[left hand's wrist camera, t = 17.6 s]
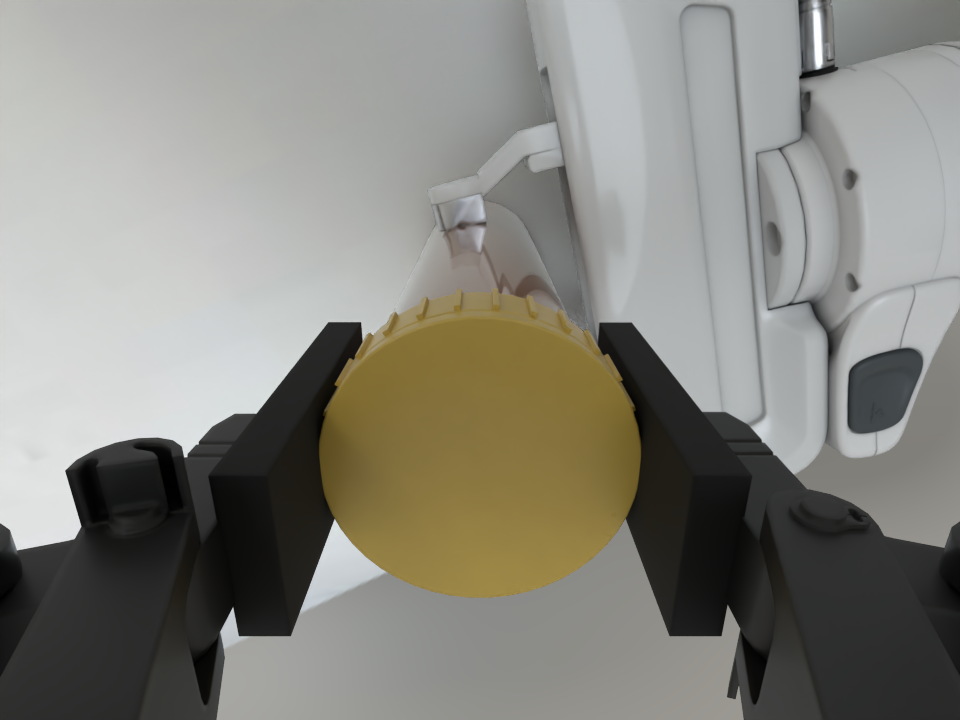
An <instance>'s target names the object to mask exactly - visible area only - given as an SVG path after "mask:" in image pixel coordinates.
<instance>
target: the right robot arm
mask: <svg viewBox="0 0 960 720" xmlns="http://www.w3.org/2000/svg"><path fill="white" fill-rule="evenodd" d="M525 1H526V7H527V12H528V17H529V23H530V28H531V33H532V38H533V44H534V49H535V54H536V59H537V65H538V70H539V75H540V80H541V86H542V91H543V96H544V101H545V107H546V112H547V117H548V122H549V123H545V124H541V125H538V126H534V127H530V128H527V129H523V130H519V131H517V132H516V133H515V134H514V135H513V136H512V137H511V138H510V139H509V140H508V141H507V142H506V143H505V144H504V145H503V146H502V147H501V148H500V149H499V150H498V151H497V152H496V153H495V154H494V155H493V156H492V157H491V158H490V159H489V160H488V161H487V162H486V163H485V164H484V165H483V166H482V167H481V168H480V169H479V170H478V171H477V175H474V176H470V177H466V178H462V179H458V180H454V181H451V182H447V183H443V184H439V185H437V186H434V187H431V188H429V189H428V194H429V199H430V203H431V206H432V209H433V213H434V216H435V220H436V223H437V227H438V230H439V232H444V231H449V230H453V229H455V228H457V227H458V226H459V225H460V224H461V223H464V224H466V225H472V224H477V223H481V222H485V221H487V212H486V208H485V203H484V199H483V197H484V196H485V195H486V194H487V193H488V192H489V191H490V190H491V189H493V188H494V187H495V186H496V185H497V184H498V183H499V182H500V181H501V180H502V179H503V178H504V177H505V176H506V175H507V174H508V173H509V172H510V171H511V170H512V169H513V168H514V167H515V166H516V165H517V164H518V163H519V162H520V161H521V160H522V159H523V158H524V163H525V167H526V168H527V169H529V170H530V171H531V172H533V173H536V172H540V171H545V170H549V169H553V168H557V170H558V175H559V180H560V185H561V191H562V196H563V201H564V206H565V212H566V217H567V222H568V227H569V233H570V238H571V243H572V248H573V254H574V259H575V264H576V269H577V275H578V280H579V285H580V290H581V296H582V301H583V306H584V311H585V316H586V322H587V327H588V330H589V331H590V332H591V334H592V336H593V338H594V340H595V342H596V343H597V345H598V333H599V322H632V323H633V324H634V326H635V327H636V328H637V330H638V331H639V332H640V333H641V335H642V336H643V337H644V338H645V340H646V341H647V342H648V344H649V345H650V346H651V347H652V349H653V350H654V351H655V352H656V354H657V355H658V356H659V358H660V359H661V360H662V361H663V363H664V364H665V365H666V366H667V368H668V369H669V370H670V372H671V373H672V374H673V375H674V377H675V378H676V379H677V380H678V382H679V383H680V384H681V386H682V387H683V388H684V389H685V391H686V392H687V393H688V394H689V396H690V397H691V398H692V400H693V401H694V402H695V403H696V405H697V406H698V407H699V408H700V410H701V411H702V412H727V413H729V414H730V415H732V416H734V417H736V418H737V419H739V420H741V421H743V422H744V423H746V424H748V425H749V426H750V427H751V428H752V429H753V430H754V431H755V433H756V434H757V435H758V436H759V437H760V438H761V439H762V443H765V444H766V445H767V446H768V447H769V448H770V449H771V450H772V451H773V455H776V456H777V457H778V458H779V459H780V460H781V461H782V462H783V463H784V465H785V466H786V467H787V468H788V469H789V470H790V471H791V472H792V473H793V474H796V473H798V472H800V471H801V470H803V469H804V468H805V467H807V466H808V465H809V464H810V463H811V462H812V461H813V460H814V459H815V458H816V457H817V455H818V454H819V452H820V451H821V449H822V447H823V445H824V442H825V443H827V444H828V445H829V446H831V447H832V448H834V449H835V450H837V451H838V452H839V453H841V454H842V455H844V456H846V457H849V458H862V457H869V456H874V455H878V454H881V453H884V452H886V451H888V450H890V449H891V448H893V447H894V446H895V445H896V444H897V442H898V441H899V440H900V438H901V436H902V434H903V432H904V429H905V427H906V424H907V422H908V419H909V416H910V414H911V411H912V408H913V405H914V403H915V400H916V398H917V395H918V392H919V390H920V387H921V385H922V382H923V380H924V378H925V375H926V373H927V371H928V368H929V366H930V364H931V362H932V359H933V357H934V355H935V353H936V351H937V349H938V347H939V345H940V343H941V341H942V339H943V337H944V335H945V334H946V332H947V330H948V329H949V327H950V325H951V323H952V322H953V320H954V318H955V316H956V315H957V313H958V311H959V309H960V41H951V42H940V43H934V44H930V45H926V46H922V47H918V48H914V49H910V50H906V51H902V52H898V53H895V54H891V55H887V56H883V57H879V58H875V59H872V60H868V61H864V62H860V63H856V64H852V65H849V66H844V67H840V68H838V67H835V51H834V20H833V9H832V5H831V3H832V2H831V0H525ZM799 75H801V76H799Z"/></svg>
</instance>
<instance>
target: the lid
mask: <svg viewBox="0 0 960 720" xmlns="http://www.w3.org/2000/svg"><path fill="white" fill-rule="evenodd" d="M622 380H623V379H622V378H621V376H620V374H619V372H618V370H617V369H616V367H615V365H614V363H613V362H612V360H611V358H610V357H609V355H608V354H606V355H604V356H603V354H602V353H601V351H600V349H599V347H598V345H597V343H596V342H595V340H594V338H593V336H592V334H591V332H590V331H589V330H588V329H586V330H585V331H584V332H583V331H582V330H581V329H580V328H579V327H577V326H576V325H575V324H574V323H572V322H571V321H570V320H569V319H567V316H566V314H565V312H564V311H563V310H561V309H559V310H558V312H555V311H554V310H552V309H550V308H548V307H546V306H543V305H541V304H539V303H536V302H534V299H533V296H530V295H527V297H526V299H524V298H520V297H517V296H513V295H507V294H500V293H498V289H496V288H492V292H469V293H463V292H462V289H457V290H456V294H452V295H448V296H444V297H440V298H436V299H432V300H428V297H424V298H422V300H421V303H420V304H419V305H416V306H414V307H412V308H410V309H408V310H406V311H405V312H403V313H401V314H399V315H398V314H397V313H396V312H394V313H393V314H391V316H390V318H389V320H388V322H387V323H386V324H385V325H384V326H382V327H381V328H380V329H379V330H378V331H377V332H376V333H375V334H374V335H372V334H371V333H368V335H367V336H366V337H365V339H364V341H363V342H362V344H361V346H360V348H359V350H358V351H357V353H356V355H355V359H354V360H352V359H351V358H349V360H348V362H347V364H346V365H345V367H344V369H343V371H342V372H341V374H340V376H339V378H338V379H337V381H336V383H335V385H336V386H338V387H337V389H336V390H335V392H334V394H333V396H332V398H331V399H330V401H329V403H328V405H327V406H326V408H325V410H324V413H323V416H325V418H324V421H323V424H322V429H321V434H320V439H319V458H320V467H321V476H322V484H323V492H324V496H325V498H326V501H327V503H328V506H329V508H330V510H331V513H332V515H333V516H334V518H335V520H336V521H337V523H338V525H339V527H340V528H341V530H342V531H343V532H344V534H345V535H346V536H347V537H348V539H349V540H350V541H351V542H352V544H353V545H354V546H355V547H356V548H357V549H358V550H359V551H360V552H361V553H362V554H363V555H364V556H365V557H367V558H368V559H369V560H371V561H372V562H373V563H375V564H376V565H377V566H378V567H380V568H381V569H383V570H385V571H386V572H388V573H390V574H391V575H393V576H395V577H396V578H398V579H401V580H403V581H405V582H407V583H410V584H412V585H414V586H417V587H420V588H423V589H426V590H429V591H432V592H437V593H441V594H446V595H451V596H460V597H469V598H490V597H501V596H509V595H514V594H519V593H524V592H528V591H531V590H534V589H537V588H540V587H544V586H546V585H548V584H551V583H553V582H555V581H558V580H560V579H562V578H564V577H565V576H567V575H569V574H571V573H572V572H574V571H576V570H577V569H579V568H580V567H582V566H583V565H584V564H586V563H587V562H588V561H590V560H591V559H592V558H593V557H594V556H596V554H598V553H599V552H600V551H601V550H602V549H603V548H604V547H605V546H606V545H607V544H608V542H609V541H610V540H611V539H612V537H613V536H614V535H615V534H616V533H617V531H618V530H619V528H620V527H621V525H622V523H623V522H624V520H625V518H626V517H627V515H628V513H629V510H630V508H631V506H632V504H633V501H634V499H635V496H636V492H637V488H638V480H639V471H640V462H641V439H640V434H639V428H638V424H637V421H636V418H635V415H634V412H633V411H636V409H635V406H634V404H633V402H632V400H631V399H630V397H629V395H628V393H627V391H626V390H625V388H624V386H623V384H622V382H620V381H622Z"/></svg>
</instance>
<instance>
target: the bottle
mask: <svg viewBox="0 0 960 720" xmlns="http://www.w3.org/2000/svg"><path fill="white" fill-rule="evenodd" d="M484 203H485V208H486V212H487V221H485V222H481V223H477V224H472V225H466V224H464V223H461V224H460V225H459V226H458V227H457V228H455V229H453V230H449V231H444V232H439V230H438V227H437V223H436V225H435V226H434V228H433V230H432V232H431V234H430V236H429V238H428V240H427V242H426V245H425V247H424V249H423V251H422V253H421V255H420V257H419V259H418V261H417V263H416V265H415V267H414V270H413V272H412V274H411V276H410V278H409V280H408V282H407V284H406V286H405V288H404V290H403V293H402V295H401V297H400V299H399V301H398V303H397V305H396V307H395V309H394V311H393V313H394V312H396V313H397V314H398V315H399V314H401V313H403V312H405V311H406V310H408V309H410V308H412V307H414V306H416V305H419V304H420V303H421V300H422V298H424V297H428V300H432V299H436V298H440V297H444V296H448V295H452V294H456V290H457V289H462V292H463V293H469V292H492V288H496V289H498V293H500V294H507V295H513V296H517V297H520V298H524V299H526V297H527V295H530V296H533V299H534V302H536V303H539V304H541V305H543V306H546V307H548V308H550V309H552V310H554V311H555V312H558V310H559V309H561V310H563V311H564V312H565V314H566V316H567V319H569V320H570V318H569V316H568V314H567V312H566V310H565V308H564V306H563V304H562V301H561V299H560V297H559V295H558V293H557V291H556V289H555V287H554V285H553V282H552V280H551V278H550V276H549V274H548V272H547V270H546V268H545V266H544V264H543V261H542V259H541V257H540V255H539V253H538V251H537V249H536V247H535V245H534V242H533V240H532V238H531V236H530V234H529V232H528V230H527V228H526V226H525V225H524V223H523V222H522V221H521V219H520V218H519V217H518V216H517V215H516V214H515V213H513V212H512V211H511V210H509V209H508V208H506V207H504V206H502V205H500V204H497V203H494V202H490V201H484ZM393 313H392V314H393ZM570 321H571V320H570Z"/></svg>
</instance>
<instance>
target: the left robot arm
mask: <svg viewBox="0 0 960 720" xmlns="http://www.w3.org/2000/svg"><path fill="white" fill-rule="evenodd" d="M361 344H362V328H361V322H328V324H327V325H326V326H325V328H324V329H323V330H322V331H321V333H320V334H319V335H318V336H317V338H316V339H315V340H314V342H313V343H312V344H311V345H310V347H309V348H308V349H307V350H306V352H305V353H304V354H303V355H302V357H301V358H300V359H299V361H298V362H297V363H296V364H295V366H294V367H293V368H292V369H291V371H290V372H289V373H288V375H287V376H286V377H285V378H284V380H283V381H282V382H281V383H280V385H279V386H278V387H277V389H276V390H275V391H274V392H273V394H272V395H271V396H270V397H269V399H268V400H267V401H266V403H265V404H264V405H263V406H262V408H261V409H260V410H259V411H258V413H257V414H234V415H232V416H230V417H229V418H227V419H225V420H223V421H222V422H220V423H218V424H216V425H215V426H213V427H212V428H211V429H210V430H209V431H208V432H207V433H206V434H205V436H204V437H203V438H202V439H201V440H200V441H199V445H196V446H195V447H194V448H193V449H192V450H191V451H190V452H189V453H188V457H185V458H184V455H183V450H182V446H180V445H179V444H177V443H176V442H174V441H173V440H168V439H162V438H138V439H133V440H127V441H122V442H117V443H114V444H111V445H108V446H105V447H102V448H99V449H97V450H94V451H92V452H90V453H89V454H87V455H85V456H83V457H81V458H79V459H78V460H76V461H75V462H74V463H73V464H72V465H71V466H70V467H69V468H68V469H67V470H66V471H65V472H66V475H67V478H68V482H69V485H70V489H71V492H72V495H73V499H74V502H75V506H76V509H77V512H78V516H79V519H80V523H81V526H82V527H81V529H80V531H79V532H78V534H77V536H76V538H75V539H74V540H70V541H65V542H60V543H54V544H49V545H44V546H39V547H33V548H28V549H23V550H18V551H17V549H16V547H15V544H14V541H13V538H12V535H11V532H10V530H9V529H8V528H6V527H5V526H3V525H2V524H0V720H216V718H217V711H218V704H219V696H220V689H221V681H222V674H223V667H224V659H225V656H224V649H223V643H222V638H221V633H220V631H221V629H222V627H223V625H224V623H225V621H226V619H227V617H228V615H229V614H230V612H231V610H232V608H234V613H235V618H236V623H237V629H238V634H239V636H291V634H292V631H293V629H294V626H295V623H296V621H297V618H298V615H299V613H300V610H301V607H302V605H303V602H304V599H305V597H306V594H307V591H308V589H309V586H310V583H311V581H312V578H313V575H314V572H315V570H316V567H317V564H318V562H319V559H320V556H321V554H322V551H323V548H324V546H325V543H326V540H327V538H328V535H329V532H330V530H331V527H332V524H333V522H334V519H335V518H334V516H333V515H332V513H331V510H330V508H329V506H328V503H327V501H326V498H325V496H324V492H323V484H322V476H321V467H320V458H319V439H320V434H321V429H322V424H323V421H324V418H325V416H323V413H324V410H325V408H326V406H327V405H328V403H329V401H330V399H331V398H332V396H333V394H334V392H335V390H336V389H337V387H338V386H336V385H335V383H336V381H337V379H338V378H339V376H340V374H341V372H342V371H343V369H344V367H345V365H346V364H347V362H348V360H349V358H351V359H352V360H354V359H355V355H356V353H357V351H358V350H359V348H360V346H361ZM598 347H599V349H600V351H601V353H602V354H603V356H604V355H606V354H608V355H609V357H610V358H611V360H612V362H613V363H614V365H615V367H616V369H617V370H618V372H619V374H620V376H621V378H622V379H623V380H622V381H620V382H622V384H623V386H624V388H625V390H626V391H627V393H628V395H629V397H630V399H631V400H632V402H633V404H634V406H635V409H636V411H633V412H634V415H635V418H636V421H637V424H638V428H639V434H640V439H641V462H640V471H639V480H638V488H637V492H636V496H635V499H634V501H633V504H632V506H631V508H630V510H629V513H628V515H627V517H626V520H627V523H628V526H629V529H630V531H631V534H632V537H633V539H634V542H635V545H636V547H637V550H638V553H639V555H640V558H641V561H642V563H643V566H644V569H645V571H646V574H647V577H648V580H649V582H650V585H651V587H652V590H653V593H654V596H655V598H656V601H657V604H658V606H659V609H660V612H661V614H662V617H663V620H664V622H665V625H666V628H667V630H668V633H669V636H722V630H723V625H724V620H725V615H726V610H727V605H728V606H729V608H730V610H731V612H732V614H733V615H734V617H735V619H736V621H737V623H738V625H739V627H740V634H739V638H738V643H737V648H736V653H735V658H734V662H733V667H732V672H731V677H730V682H729V687H728V694H727V697H728V698H733V699H736V694H737V690H738V686H739V687H740V695H741V702H742V709H743V717H744V720H960V522H959V523H957V524H956V525H954V526H953V527H952V528H951V531H950V534H949V537H948V539H947V542H946V545H945V548H941V547H936V546H931V545H926V544H920V543H915V542H910V541H904V540H899V539H894V538H890V537H886V536H884V535H883V533H882V531H881V529H880V528H879V526H878V525H877V524H876V522H875V521H874V520H873V519H872V518H871V517H870V516H869V514H868V513H866V512H864V511H863V510H861V509H860V508H858V507H857V506H855V505H854V504H852V503H850V502H848V501H845V500H843V499H841V498H838V497H836V496H833V495H831V494H827V493H822V492H818V491H813V490H807V489H806V488H805V487H804V485H803V484H802V483H801V482H800V481H799V480H798V479H797V478H796V477H795V476H794V474H793V473H792V472H791V471H790V470H789V469H788V468H787V467H786V466H785V465H784V463H783V462H782V461H781V460H780V459H779V458H778V457H777V456H776V455H773V451H772V450H771V449H770V448H769V447H768V446H767V445H766V444H765V443H762V439H761V438H760V437H759V436H758V435H757V434H756V433H755V431H754V430H753V429H752V428H751V427H750V426H749V425H748V424H746V423H744V422H743V421H741V420H739V419H737V418H736V417H734V416H732V415H730V414H729V413H727V412H702V411H701V410H700V408H699V407H698V406H697V405H696V403H695V402H694V401H693V400H692V398H691V397H690V396H689V394H688V393H687V392H686V391H685V389H684V388H683V387H682V386H681V384H680V383H679V382H678V380H677V379H676V378H675V377H674V375H673V374H672V373H671V372H670V370H669V369H668V368H667V366H666V365H665V364H664V363H663V361H662V360H661V359H660V358H659V356H658V355H657V354H656V352H655V351H654V350H653V349H652V347H651V346H650V345H649V344H648V342H647V341H646V340H645V338H644V337H643V336H642V335H641V333H640V332H639V331H638V330H637V328H636V327H635V326H634V324H633V323H632V322H599V333H598Z"/></svg>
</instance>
